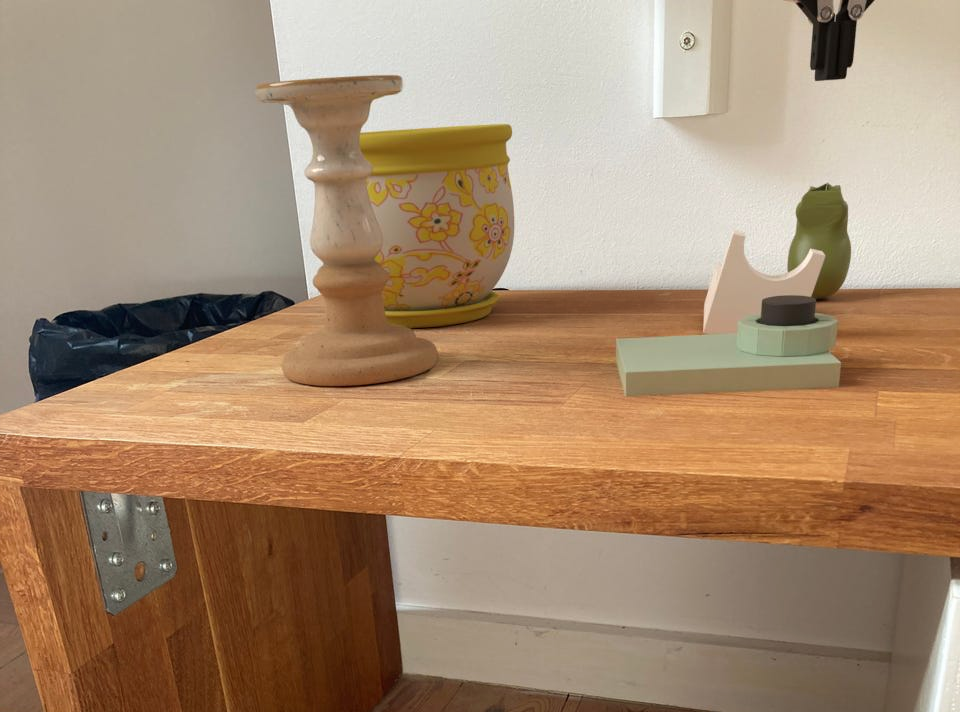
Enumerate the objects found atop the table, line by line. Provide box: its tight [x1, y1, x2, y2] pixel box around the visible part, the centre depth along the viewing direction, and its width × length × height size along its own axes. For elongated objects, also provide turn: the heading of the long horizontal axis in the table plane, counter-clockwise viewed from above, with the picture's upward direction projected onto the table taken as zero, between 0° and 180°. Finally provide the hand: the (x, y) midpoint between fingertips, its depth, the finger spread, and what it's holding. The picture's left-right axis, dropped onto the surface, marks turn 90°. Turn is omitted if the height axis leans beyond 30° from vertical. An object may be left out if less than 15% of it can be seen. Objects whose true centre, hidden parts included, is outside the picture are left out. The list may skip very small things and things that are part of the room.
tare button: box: [760, 295, 817, 326], centre depth 71 cm, size 4×4×2 cm
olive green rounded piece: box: [786, 182, 852, 300], centre depth 95 cm, size 6×5×10 cm
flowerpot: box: [359, 123, 515, 329], centre depth 97 cm, size 18×18×16 cm
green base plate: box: [615, 312, 842, 397], centre depth 72 cm, size 15×11×4 cm
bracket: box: [702, 229, 825, 335], centre depth 85 cm, size 13×7×8 cm, turn 169°
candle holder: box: [254, 74, 439, 387], centre depth 77 cm, size 12×12×20 cm
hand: (830, 79), depth 83 cm, fingers closed
